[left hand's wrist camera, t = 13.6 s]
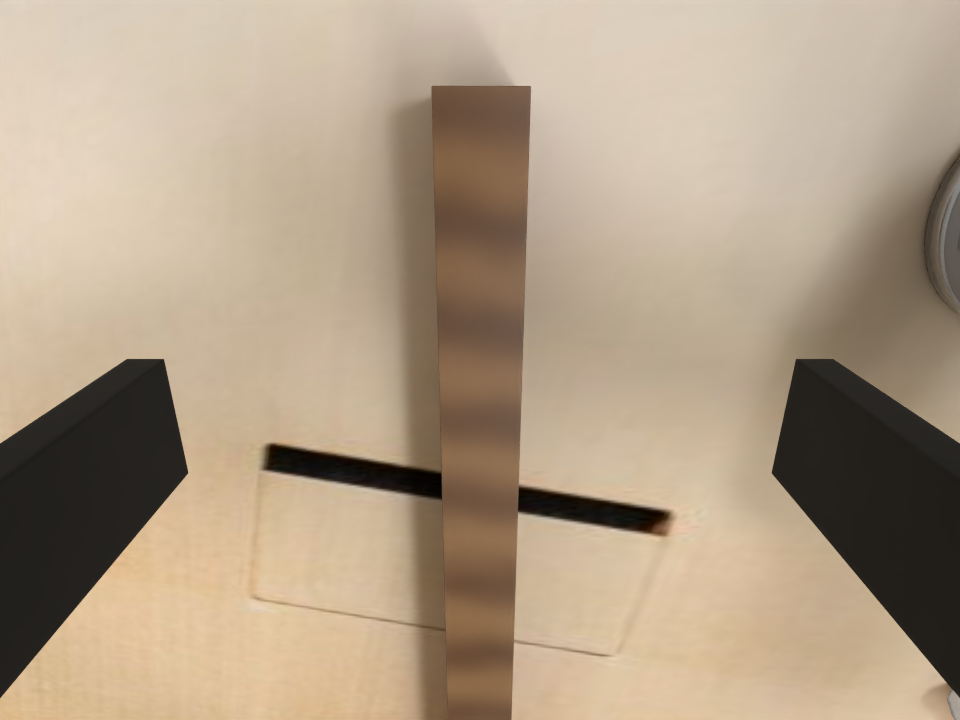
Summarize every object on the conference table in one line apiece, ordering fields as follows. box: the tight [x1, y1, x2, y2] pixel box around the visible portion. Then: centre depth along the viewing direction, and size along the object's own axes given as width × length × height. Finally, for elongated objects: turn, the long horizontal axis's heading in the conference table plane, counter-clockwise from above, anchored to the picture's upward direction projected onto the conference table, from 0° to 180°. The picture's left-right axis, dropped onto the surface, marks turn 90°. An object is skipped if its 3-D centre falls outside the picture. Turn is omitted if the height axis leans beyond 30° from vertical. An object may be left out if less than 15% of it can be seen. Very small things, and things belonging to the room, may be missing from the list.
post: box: [432, 86, 531, 720], centre depth 47 cm, size 84×5×8 cm, turn 0°
